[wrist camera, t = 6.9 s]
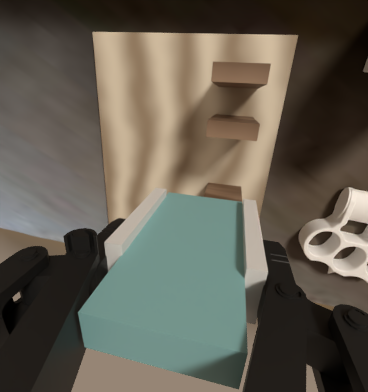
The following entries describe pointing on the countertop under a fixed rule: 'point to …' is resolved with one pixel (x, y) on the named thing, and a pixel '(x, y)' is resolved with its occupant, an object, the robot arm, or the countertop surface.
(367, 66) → the milk carton
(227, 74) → the domino
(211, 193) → the domino
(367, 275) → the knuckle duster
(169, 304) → the domino
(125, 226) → the robot arm
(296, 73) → the countertop surface
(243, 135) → the domino
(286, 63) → the birch board
